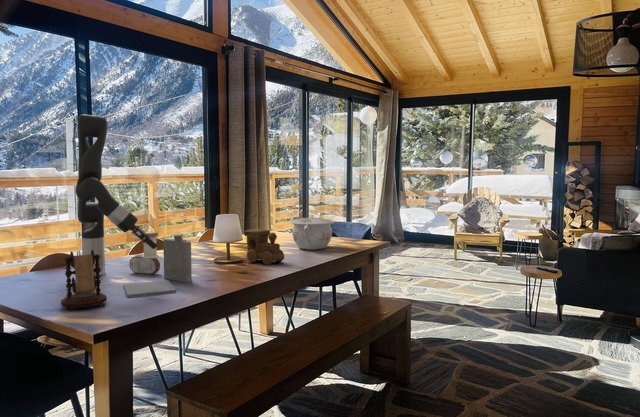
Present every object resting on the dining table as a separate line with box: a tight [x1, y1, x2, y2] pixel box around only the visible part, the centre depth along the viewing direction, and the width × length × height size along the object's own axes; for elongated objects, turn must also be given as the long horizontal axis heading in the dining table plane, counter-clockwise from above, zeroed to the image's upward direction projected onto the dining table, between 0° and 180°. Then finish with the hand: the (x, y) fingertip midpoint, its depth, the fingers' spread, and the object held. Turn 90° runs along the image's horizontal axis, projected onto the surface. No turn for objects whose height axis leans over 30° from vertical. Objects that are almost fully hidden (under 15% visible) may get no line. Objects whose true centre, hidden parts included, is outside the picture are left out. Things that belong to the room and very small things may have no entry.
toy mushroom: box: [142, 231, 159, 259], centre depth 199 cm, size 6×6×10 cm
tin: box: [129, 254, 161, 275], centre depth 227 cm, size 15×3×8 cm, turn 74°
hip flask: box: [162, 234, 193, 284], centre depth 215 cm, size 16×4×20 cm, turn 58°
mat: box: [122, 279, 177, 298], centre depth 198 cm, size 18×18×1 cm
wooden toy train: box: [243, 228, 285, 266], centre depth 255 cm, size 20×11×17 cm, turn 56°
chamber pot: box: [289, 214, 335, 251], centre depth 299 cm, size 28×28×21 cm
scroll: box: [60, 250, 108, 312], centre depth 174 cm, size 15×15×20 cm
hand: (154, 246), depth 200 cm, fingers closed on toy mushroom, 5 cm apart
